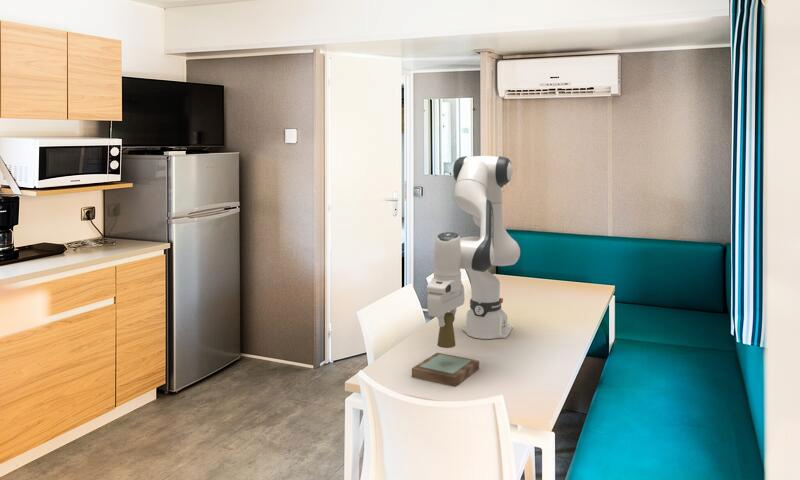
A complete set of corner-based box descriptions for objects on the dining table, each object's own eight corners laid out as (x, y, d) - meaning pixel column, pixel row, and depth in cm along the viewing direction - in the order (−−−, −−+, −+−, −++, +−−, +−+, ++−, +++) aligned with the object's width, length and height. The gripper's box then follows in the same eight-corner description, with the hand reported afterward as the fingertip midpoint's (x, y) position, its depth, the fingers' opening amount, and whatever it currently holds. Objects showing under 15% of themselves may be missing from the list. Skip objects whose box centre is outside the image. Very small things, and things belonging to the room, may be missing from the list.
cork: (454, 342, 218) (454, 310, 217) (456, 347, 213) (457, 315, 211) (436, 342, 218) (436, 310, 217) (437, 348, 212) (438, 315, 211)
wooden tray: (437, 360, 229) (437, 351, 228) (479, 369, 221) (479, 359, 220) (411, 376, 213) (411, 367, 213) (455, 386, 205) (455, 376, 205)
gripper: (452, 275, 222) (451, 315, 225) (423, 287, 205) (423, 330, 207) (469, 277, 219) (468, 317, 222) (441, 290, 202) (441, 333, 204)
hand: (446, 323), depth 214 cm, fingers closed on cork, 5 cm apart
